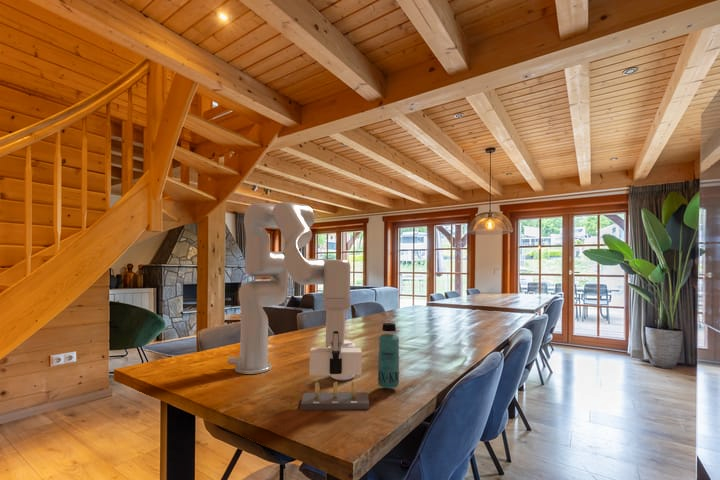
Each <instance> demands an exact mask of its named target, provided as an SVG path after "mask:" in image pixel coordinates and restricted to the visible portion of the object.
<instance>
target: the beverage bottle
mask: <svg viewBox="0 0 720 480" xmlns="http://www.w3.org/2000/svg"><path fill="white" fill-rule="evenodd" d="M382 331H383V332H385V333H382V334H381V335H379V337H378V355H377V356H378V362H377V365H378V366H377V373H378V374H377V375H378V376H377V383H378V386H379V387H381V388H383V389H394V388H397V387H398V386H399V384H400V368H399V367H400V338H399V336H397V334H394V333H386V332H396V331H397V328H396V323H393V322H384V323H383V324H382Z"/></svg>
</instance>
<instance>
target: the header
mask: <svg viewBox="0 0 720 480" xmlns="http://www.w3.org/2000/svg"><path fill="white" fill-rule="evenodd" d="M320 384H321V383H320V382H318V381H316V382H315V384H314V392H303V395H302V397H301V398H302V399H301V402H300V411H307V410H308V411H313V410H315V411H316V410H317V411H319V410H321V411H324V410H327V411H328V410H369V409H370V400H369V395H368V391H358V392H357V383H356V382H355V381H352V382H351V391H350V392H348V391H347V392H345V391H344V392H343V391H342V392H339V391H338V389H339V382H338V381H334V382H333V389H332V390H333V391H332V392H320V388H321V387H320Z"/></svg>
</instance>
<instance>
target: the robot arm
mask: <svg viewBox="0 0 720 480" xmlns="http://www.w3.org/2000/svg"><path fill="white" fill-rule="evenodd" d="M315 216H316V215H315V213H314V210H313V208H311V206H309V205H307V204H303V203H297V202H290V201H282V202H279V203H277V204H272V203H267V202H266V203H264V202H256V203H252V204H250V205H249V206H248V207H247V208H246V210H245V212H244V217H243V224H244V225H243V226H244V231H245V238H246V242H245V243H246V244H245V255H244V256H245V258H244V260H245V261H244V262H245V263H244V269H245V273H246V275H247V276H249V277H253V278H267V277H268V278H270V280H268V279H267V280H264V279H263V280H250V281H246V282H244V283H243V284H241V286H240V287H239V290H238V298H239V306H240V342H239V343H240V345H239V347H240V348H239V356H236V357H234V356H233V357H231V356H230V357H228V358H227V363H228V364H229V365H236V366H234V372H235V373H237V374H242V375H255V374H263V373H265V372H269V371H270V370H271V369H272V367H273V366H272V364H271V362H268V349H269V346H268V344H269V343H268V342H269V318H268V315H267V313H266V311H265V310H264V307H271V306H279V305H282V304H283V303H284V302H285V300H286V298H287V292H288V281H289V280H288V279H289V278H288V277H289V276H290V277H291V279H292V280H293V281H294V282H295V283H296V284H298V285H300V286H301V285H302V286H307V285H308V286H309V285H323V287H322V288H323V289H322V292H323V293H322V310H323V311H326V317H325V348H329V347H330V348H331V358H330V374H341V373H342V358H341V348H342V347H343V345H344V339H345V336H346V335H345V334H346V312H347V311H348V310H350V309H351V263H350V261H349V260H347V259H329V258H305V257H304V256H303V254H302V253H301V251H300V249H302V248H303V247H305V246H307V245H308V244H309V243H310V242H311V241H312V238H313V232H312V230H311V227H312V226H313V225H314V223H315V219H316V218H315ZM266 228H270V229H279V231H280V233H281V234H282V236H283V238H284V240H285V242H286V244H285V246H284V249H283V252H279V251H271V238H270V235H269V233H268V231H267V230H266ZM338 349H339V350H338Z"/></svg>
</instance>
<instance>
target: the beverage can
mask: <svg viewBox="0 0 720 480" xmlns="http://www.w3.org/2000/svg"><path fill="white" fill-rule="evenodd" d="M342 348H356V345H355V343H354V340H352V339H348V338H344V345H343V347H342ZM355 376H356V375H330V378H332V379H333V380H336V381H342V382H343V381H349V380H351V379H354V378H355Z"/></svg>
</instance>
